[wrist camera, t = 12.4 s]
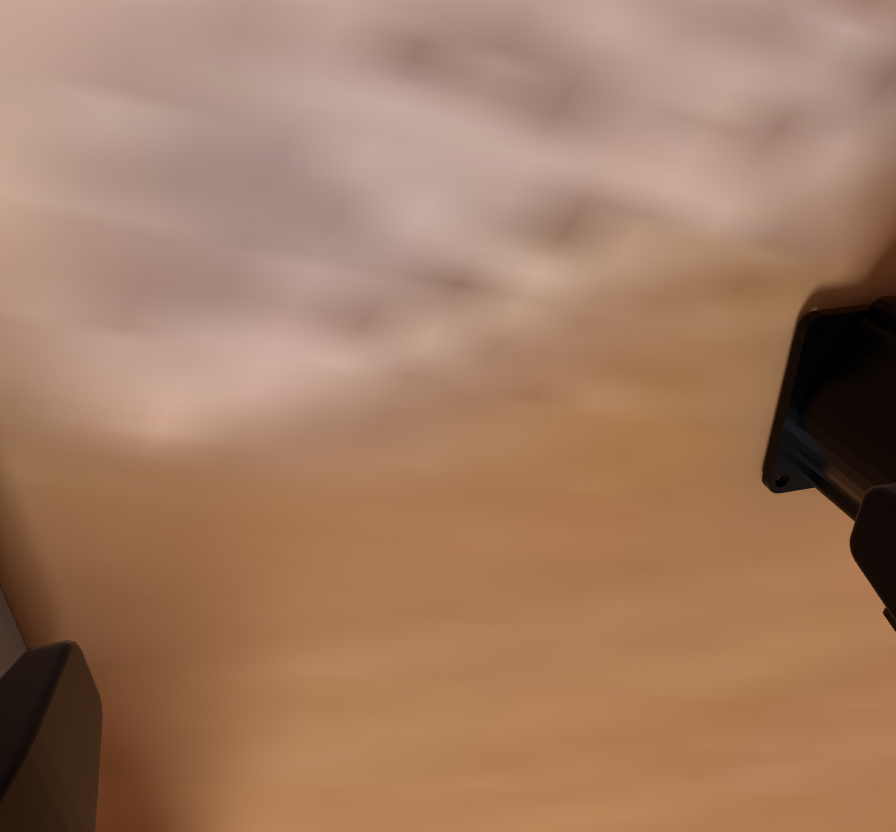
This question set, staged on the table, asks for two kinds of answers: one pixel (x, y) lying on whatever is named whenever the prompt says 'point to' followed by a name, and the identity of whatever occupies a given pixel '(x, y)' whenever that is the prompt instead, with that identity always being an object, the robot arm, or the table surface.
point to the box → (9, 637)
